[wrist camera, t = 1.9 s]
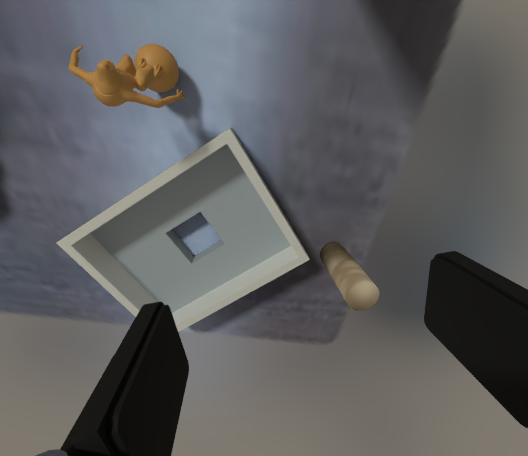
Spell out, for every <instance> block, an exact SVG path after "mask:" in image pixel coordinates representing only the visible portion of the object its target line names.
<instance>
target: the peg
mask: <svg viewBox="0 0 528 456" xmlns="http://www.w3.org/2000/svg"><path fill="white" fill-rule="evenodd" d="M320 258H321V260H322V262H323V263H324V265H325V267H326V268H327V270H328V272H329V274H330V275H331V277H332V279H333V280H334V282H335V284H336V285H337V287H338V289H339V290H340V292H341V294H342V295H343V297H344V299H345V300H346V302H347V304H348V305H349V307H350V308H352V309H354V310H366V309H368V308H370V307H372V306H373V305H374V304H375V303H376V302H377V300H378V298H379V290H378V288H377V287H376V286H375V284H374V283H373V282H372V281H371V280H370V278H369V277H368V276H367V275H366V274H365V272H364V271H363V270H362V269H361V268H360V266H359V265H358V264H357V263H356V262H355V260H354V259H353V258H352V257H351V256H350V254H349V253H348V252H347V251H346V250H345V248H344V247H343V246H342V245H341V244H339V243H336V242H332V243H328V244H326V245H325V246H324V247H323V248H322V250H321V252H320Z"/></svg>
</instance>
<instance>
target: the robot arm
mask: <svg viewBox="0 0 528 456" xmlns="http://www.w3.org/2000/svg"><path fill="white" fill-rule="evenodd" d="M424 321H425V325H426V327H427V328H428V329H429V330H430V331H431V333H433V335H434V336H435V337H436V338H437V339H438V340H439V341H440V342H441V343H442V344H443V345H444V346H445V347H446V348H447V349H448V350H449V351H450V352H451V353H452V354H453V355H454V356H455V357H456V358H457V359H458V360H459V361H460V362H461V363H462V364H463V365H464V366H465V367H466V369H467V370H468V371H469V372H470V373H471V374H472V375H473V376H474V377H475V378H476V379H477V380H478V381H479V382H480V383H481V384H482V385H483V386H484V387H485V388H486V389H487V390H488V391H489V392H490V393H491V394H492V395H493V396H494V397H495V399H497V401H498V402H499V403H500V404H501V405H502V406H503V407H504V408H505V409H506V410H507V411H508V412H509V413H510V414H511V415H512V416H513V417H514V418H515V419H516V420H517V421H518V422H519V423H520V424H521V425H523V426H524V427H526V428H528V290H527V289H525V288H523V287H522V286H520V285H518V284H516V283H514V282H512V281H510V280H509V279H507V278H505V277H503V276H501V275H499V274H497V273H496V272H494V271H492V270H490V269H488V268H486V267H484V266H482V265H480V264H479V263H477V262H475V261H473V260H471V259H470V258H468V257H466V256H464V255H462V254H460V253H458V252H456V251H452V252H446V253H440V254H437V255H435V257H434V259H432V260H431V263H430V271H429V280H428V289H427V297H426V306H425V315H424ZM188 372H189V364H188V360H187V357H186V354H185V351H184V348H183V345H182V342H181V339H180V336H179V333H178V330H177V327H176V324H175V321H174V318H173V315H172V312H171V309H170V307H169V305H164V303H163V302H155V303H149V304H144V305H143V306H142V307H141V309H140V311H139V313H138V314H137V316H136V318H135V320H134V321H133V323H132V325H131V327H130V329H129V330H128V332H127V334H126V336H125V337H124V339H123V341H122V343H121V345H120V346H119V348H118V350H117V352H116V353H115V355H114V356H113V358H112V359H111V361H110V363H109V365H108V366H107V368H106V370H105V372H104V373H103V375H102V377H101V379H100V380H99V382H98V384H97V386H96V387H95V389H94V391H93V393H92V394H91V396H90V398H89V400H88V401H87V403H86V405H85V407H84V408H83V410H82V412H81V414H80V416H79V418H78V419H77V421H76V423H75V424H74V426H73V428H72V430H71V431H70V433H69V435H68V437H67V438H66V440H65V442H64V444H63V446H62V447H61V449H60V450H59V449H58V450H48V451H46V452H43V453H41V454H38V455H36V456H171V452H172V448H173V443H174V439H175V434H176V429H177V424H178V420H179V415H180V411H181V406H182V401H183V396H184V392H185V387H186V382H187V378H188Z"/></svg>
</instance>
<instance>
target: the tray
mask: <svg viewBox="0 0 528 456" xmlns="http://www.w3.org/2000/svg"><path fill="white" fill-rule="evenodd" d="M199 212H201V213H202V215H203V216H204V217H205V219H206V220H207V221H208V223H209V224H210V225H211V227H212V228H213V229H214V231H215V232H216V233H217V235H218V236H219V237H220V239H221V241H219V242H218V243H216V244H214V245H213V246H211V247H209V248H208V249H206V250H204V251H203V252H201V253H199V254H197V255H196V256H193V254H192V253H191V252H190V251H189V250H188V248H187V247H186V246H185V245H184V244H183V242H182V241H181V240H180V239H179V238H178V236H177V235H176V234H175V233H174V232H173V230H172V229H173V228H175V227H176V226H178V225H179V224H181V223H183V222H184V221H186V220H188V219H189V218H191V217H192V216H194V215H196V214H197V213H199ZM57 244H58V245H59V246H60V247H61V248H62V249H63V250H64V251H65V252H66V253H68V254H69V255H70V256H71V257H72V258H73V259H74V260H75V261H76V262H77V263H78V264H79V265H80V266H82V267H83V268H84V269H85V270H86V271H87V272H88V273H89V274H90V275H91V276H92V277H93V278H94V279H95V280H97V281H98V282H99V283H100V284H101V285H102V286H103V287H104V288H105V289H106V290H107V291H108V292H109V293H111V294H112V295H113V296H114V297H115V298H116V299H117V300H118V301H119V302H120V303H121V304H122V305H123V306H124V307H126V308H127V309H128V310H129V311H130V312H131V313H132V314H133V315H134V316H135V317H136V316H137V314H138V313H139V311H140V309H141V307H142V306H143V305H144V304H149V303H155V302H163V303H164V305H169V307H170V309H171V312H172V315H173V318H174V321H175V324H176V327H177V330H178V332H180V331H181V330H183V329H185V328H187V327H189V326H190V325H192V324H194V323H196V322H198V321H199V320H201V319H203V318H205V317H207V316H209V315H210V314H212V313H214V312H216V311H218V310H219V309H221V308H223V307H225V306H227V305H228V304H230V303H232V302H234V301H236V300H237V299H239V298H241V297H243V296H245V295H247V294H248V293H250V292H252V291H254V290H256V289H257V288H259V287H261V286H263V285H265V284H266V283H268V282H270V281H272V280H274V279H276V278H277V277H279V276H281V275H283V274H285V273H286V272H288V271H290V270H292V269H294V268H295V267H297V266H299V265H301V264H303V263H304V262H306V261H308V260H310V259H309V257H308V255H307V253H306V251H305V249H304V247H303V245H302V243H301V241H300V240H299V238H298V236H297V235H296V233H295V231H294V230H293V228H292V226H291V225H290V223H289V221H288V220H287V218H286V216H285V215H284V213H283V211H282V210H281V208H280V207H279V205H278V203H277V202H276V200H275V198H274V197H273V195H272V193H271V192H270V190H269V188H268V187H267V185H266V183H265V182H264V180H263V178H262V177H261V175H260V173H259V172H258V170H257V168H256V167H255V165H254V163H253V162H252V160H251V159H250V157H249V155H248V154H247V152H246V150H245V149H244V147H243V145H242V144H241V142H240V140H239V139H238V137H237V135H236V134H235V132H234V130H233V129H232V128H229V129H228V130H226V131H225V132H223V133H222V134H220V135H219V136H217V137H216V138H214V139H213V140H211V141H210V142H208V143H207V144H205V145H204V146H202V147H201V148H199V149H198V150H196V151H195V152H193V153H192V154H190V155H189V156H187V157H186V158H184V159H183V160H181V161H179V162H178V163H176V164H175V165H173V166H172V167H170V168H169V169H167V170H166V171H164V172H163V173H161V174H160V175H158V176H157V177H155V178H154V179H152V180H151V181H149V182H148V183H146V184H145V185H143V186H142V187H140V188H139V189H137V190H136V191H134V192H133V193H131V194H130V195H128V196H126V197H125V198H123V199H122V200H120V201H119V202H117V203H116V204H114V205H113V206H111V207H110V208H108V209H107V210H105V211H104V212H102V213H101V214H99V215H98V216H96V217H95V218H93V219H92V220H90V221H89V222H87V223H86V224H84V225H83V226H81V227H80V228H78V229H77V230H75V231H73V232H72V233H70V234H69V235H67V236H66V237H64V238H63V239H61V240H60V241H58V242H57Z"/></svg>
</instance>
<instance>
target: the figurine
mask: <svg viewBox="0 0 528 456" xmlns="http://www.w3.org/2000/svg"><path fill="white" fill-rule="evenodd" d="M82 48H83V46H80V47H78V48H76V49H75V50H73V52H72V54H71V62H70V64H69V70H70V71H71V72H72V73H73V74H75V75H76V76H78V77H79V78H81V79H83V80H84V81H85V82H86V83H87V84H89V85H90V86H91V87H92V88H93V90H94V94H95V96H96V97H97V99H98V100H99V101H100V102H102V103H103V104H105V105H107V106H119V105H121V104H123V103H125V102H126V101H130V102H138V103H141V104H144V105H148V106H151V107H156V108H160V107H163V106H164V105H167V104H170V103H172V102H174V101H176V100H181V99H183V98H184V97H185V96H184V97H183V95H184V93H183V94H182V91H183V90H181V91H180V93H179V91H178V89H177V95H174V96H168V97H166V98H163V99H159V100H154V99H152V98H150V97H147V96H145V95H142V94H139V93H137V92H135V91H133V90H132V89H133V88H137V89H138V90H140V91H145V90H146V89H147V88H149V89H151V90H153V91H155V92H167V91H169V90H171V89H172V88H174V86H175V85H176V84H177V81H178V78H179V68H178V65H177V62H176V60H175V58H174V57H173V55H172V54H171V53H170V52H169V51H168V50H167V49H166V48H164V47H162V46H160V45H156V44H148V45H145V46H143V47H142V48H140V49H139V51H138V52H137V54H136V57H135V67H134V64H133V61H132V59H131V58H130V56H128V55H124V56H123V58H122V60H121V61H120V62H119V63H118V64H117V66H114V64H113V63H112V62H111V61H110V60H103V61H101V62H100V63H99V64H98V66H97V70H96V71H95V72H92V73H90V72H87V71H85V70H83V69H81V68H79V67H78V62H79V57H78V52H79V51H80V50H81V49H82ZM133 76H134V77H133Z"/></svg>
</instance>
